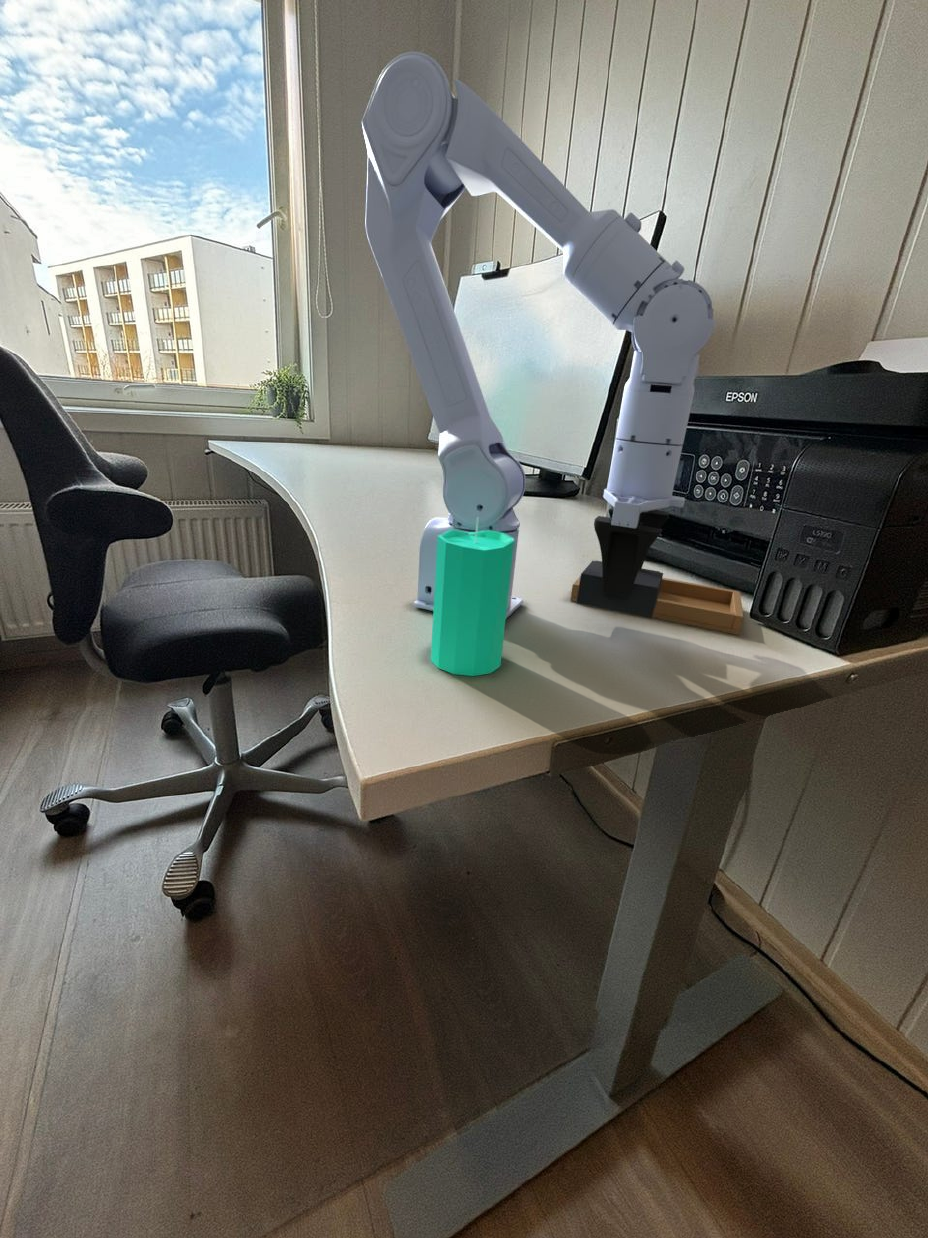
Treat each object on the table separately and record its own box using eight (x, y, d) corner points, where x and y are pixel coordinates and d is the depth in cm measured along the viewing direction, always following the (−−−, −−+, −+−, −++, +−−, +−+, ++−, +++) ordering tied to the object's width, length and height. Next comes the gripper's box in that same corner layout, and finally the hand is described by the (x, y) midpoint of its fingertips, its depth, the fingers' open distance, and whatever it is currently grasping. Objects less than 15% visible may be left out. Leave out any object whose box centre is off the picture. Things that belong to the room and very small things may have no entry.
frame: (570, 600, 62) (572, 584, 61) (587, 579, 70) (589, 564, 69) (738, 635, 56) (743, 617, 55) (735, 607, 64) (740, 591, 63)
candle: (509, 652, 48) (525, 515, 43) (490, 682, 42) (505, 530, 38) (445, 639, 49) (454, 506, 45) (419, 666, 44) (426, 518, 40)
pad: (576, 603, 52) (581, 573, 51) (587, 587, 57) (592, 560, 56) (651, 618, 50) (658, 587, 49) (657, 601, 55) (663, 572, 54)
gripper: (694, 450, 40) (655, 621, 45) (698, 443, 53) (668, 577, 58) (598, 441, 43) (572, 603, 48) (624, 436, 55) (601, 565, 60)
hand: (620, 588), depth 53 cm, fingers closed on pad, 5 cm apart
